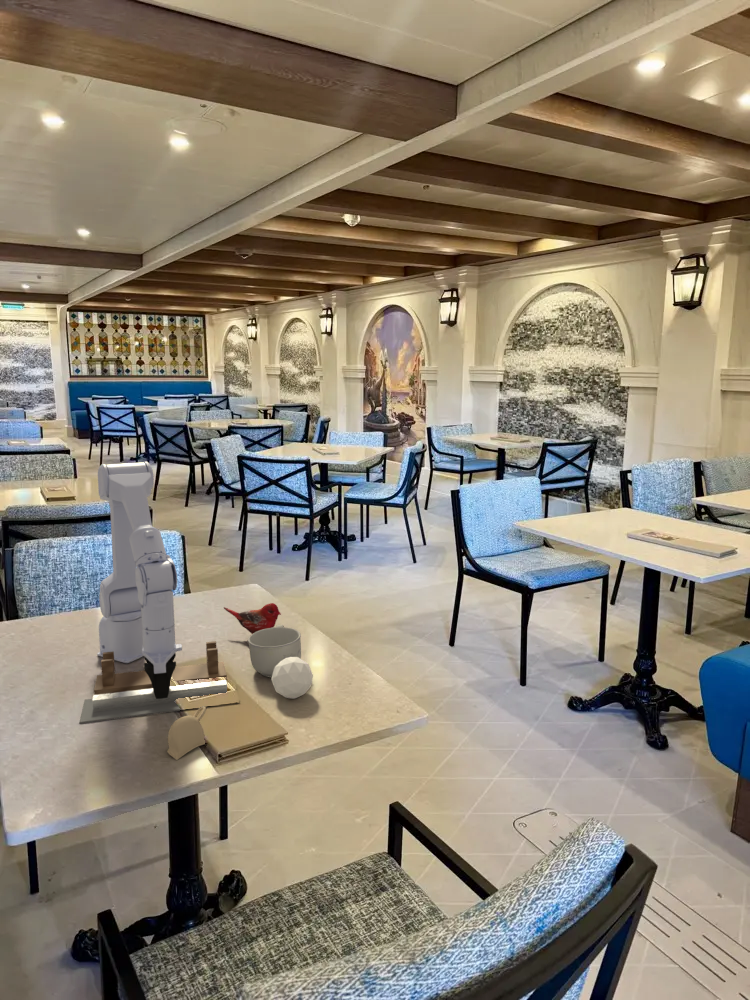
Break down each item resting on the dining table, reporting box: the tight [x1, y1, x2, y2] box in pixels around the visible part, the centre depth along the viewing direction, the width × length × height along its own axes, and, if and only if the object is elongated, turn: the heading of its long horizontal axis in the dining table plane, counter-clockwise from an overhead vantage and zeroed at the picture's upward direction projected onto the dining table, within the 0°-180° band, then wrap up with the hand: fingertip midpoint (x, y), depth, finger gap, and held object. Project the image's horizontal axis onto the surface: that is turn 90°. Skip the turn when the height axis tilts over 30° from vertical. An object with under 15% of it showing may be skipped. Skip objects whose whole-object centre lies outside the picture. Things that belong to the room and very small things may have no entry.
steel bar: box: [92, 680, 228, 712], centre depth 130 cm, size 24×2×2 cm, turn 107°
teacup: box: [247, 624, 302, 678], centre depth 145 cm, size 14×11×8 cm
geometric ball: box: [271, 657, 314, 699], centre depth 133 cm, size 8×8×8 cm
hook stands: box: [93, 640, 227, 695], centre depth 139 cm, size 25×7×6 cm, turn 107°
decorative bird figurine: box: [223, 602, 282, 635], centre depth 161 cm, size 3×18×10 cm, turn 58°
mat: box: [78, 698, 181, 724], centre depth 130 cm, size 28×9×1 cm, turn 107°
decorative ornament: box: [166, 706, 207, 761], centre depth 115 cm, size 4×8×5 cm, turn 143°
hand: (161, 694), depth 130 cm, fingers open, 2 cm apart
